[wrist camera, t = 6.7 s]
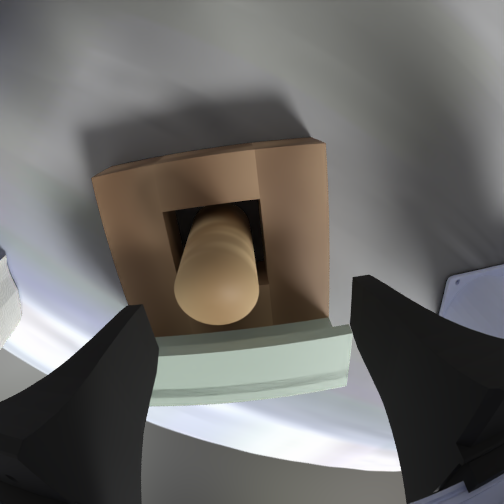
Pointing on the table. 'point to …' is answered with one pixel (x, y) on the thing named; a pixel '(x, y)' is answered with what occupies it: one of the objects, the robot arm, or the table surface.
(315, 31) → the table surface
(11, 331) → the paper towel roll
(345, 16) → the table surface
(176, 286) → the peg
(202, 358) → the pale green grooved slab
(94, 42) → the table surface
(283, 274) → the socket block
